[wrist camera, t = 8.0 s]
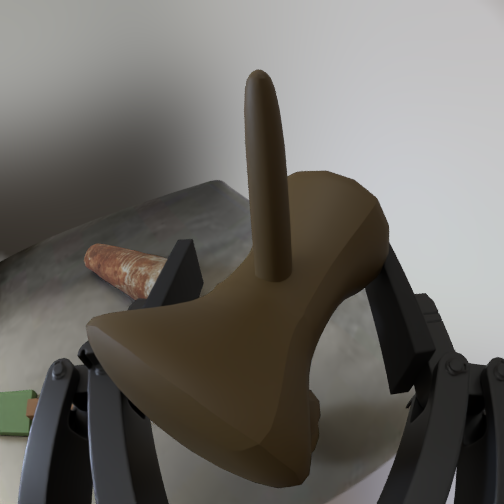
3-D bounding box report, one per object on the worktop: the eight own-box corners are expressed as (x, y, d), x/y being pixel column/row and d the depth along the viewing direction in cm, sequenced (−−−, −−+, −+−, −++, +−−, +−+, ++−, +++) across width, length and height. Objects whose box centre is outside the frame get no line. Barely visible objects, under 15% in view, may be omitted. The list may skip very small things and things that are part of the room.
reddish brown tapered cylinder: (168, 331, 27) (151, 290, 23) (84, 275, 36) (69, 242, 33) (207, 294, 31) (196, 252, 28) (115, 252, 40) (103, 220, 37)
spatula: (124, 379, 22) (118, 371, 21) (129, 428, 18) (122, 422, 17) (-3, 396, 18) (-10, 389, 17) (-8, 434, 14) (-16, 428, 13)
